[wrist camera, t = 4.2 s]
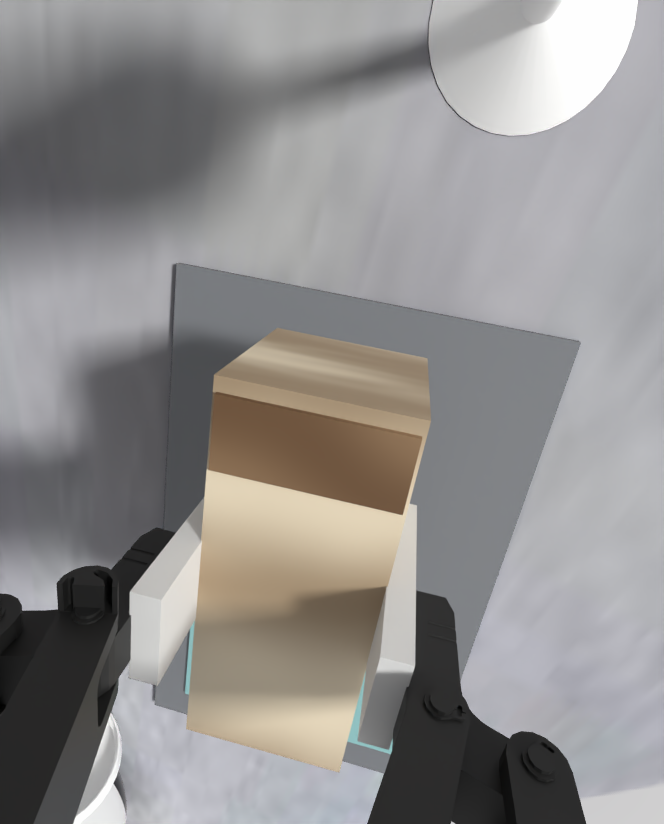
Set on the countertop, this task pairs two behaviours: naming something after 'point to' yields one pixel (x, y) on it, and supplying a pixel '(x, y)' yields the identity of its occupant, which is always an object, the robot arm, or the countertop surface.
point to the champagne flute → (526, 58)
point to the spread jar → (105, 783)
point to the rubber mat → (444, 448)
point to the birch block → (300, 537)
